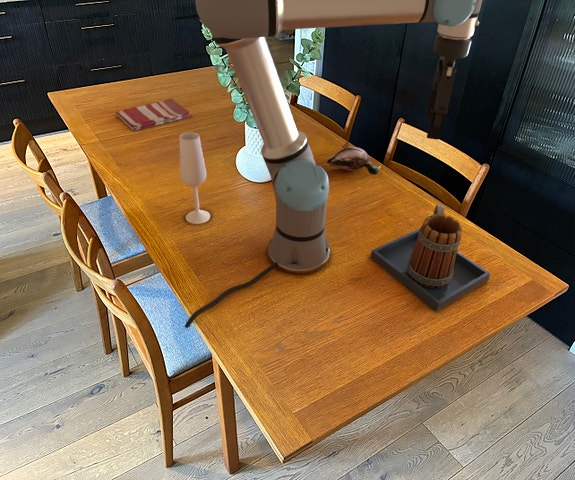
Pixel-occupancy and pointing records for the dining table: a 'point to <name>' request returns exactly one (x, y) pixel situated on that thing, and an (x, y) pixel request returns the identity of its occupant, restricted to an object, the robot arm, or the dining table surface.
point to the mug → (435, 250)
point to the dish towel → (153, 114)
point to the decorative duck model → (352, 159)
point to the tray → (461, 283)
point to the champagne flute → (193, 172)
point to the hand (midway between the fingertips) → (431, 126)
